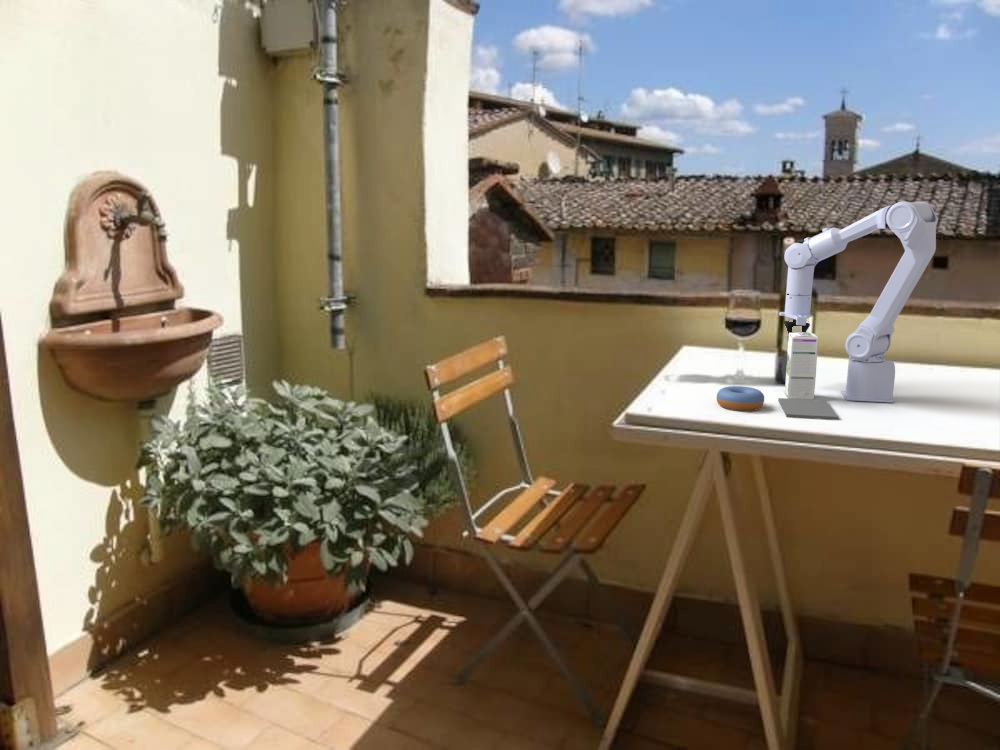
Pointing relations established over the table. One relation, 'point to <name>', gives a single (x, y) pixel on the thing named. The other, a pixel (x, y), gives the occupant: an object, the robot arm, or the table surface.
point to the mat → (807, 408)
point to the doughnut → (740, 398)
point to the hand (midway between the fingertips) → (794, 350)
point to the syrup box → (801, 365)
